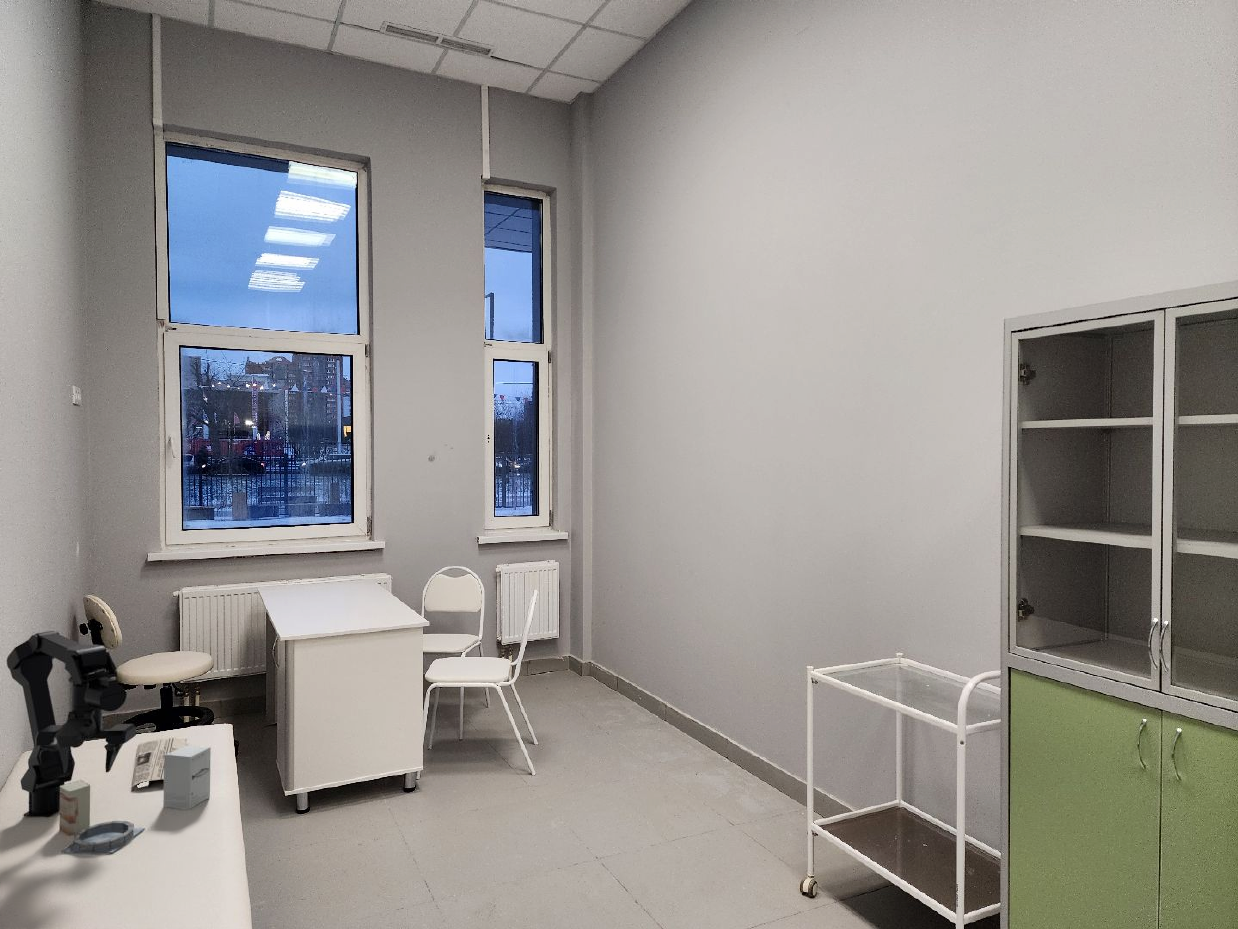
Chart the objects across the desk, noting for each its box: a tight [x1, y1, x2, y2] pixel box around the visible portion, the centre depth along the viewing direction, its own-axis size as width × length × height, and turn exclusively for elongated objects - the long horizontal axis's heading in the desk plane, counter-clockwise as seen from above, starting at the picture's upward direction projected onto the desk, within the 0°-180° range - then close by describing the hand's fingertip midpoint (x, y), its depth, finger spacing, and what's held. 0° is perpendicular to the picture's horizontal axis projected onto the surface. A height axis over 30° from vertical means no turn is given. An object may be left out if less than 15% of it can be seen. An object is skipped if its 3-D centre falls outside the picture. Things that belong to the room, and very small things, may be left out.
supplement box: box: [162, 744, 212, 810], centre depth 192 cm, size 7×7×13 cm
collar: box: [60, 820, 146, 855], centre depth 172 cm, size 11×11×2 cm
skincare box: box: [58, 779, 91, 837], centre depth 178 cm, size 5×4×10 cm
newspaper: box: [131, 736, 188, 791], centre depth 216 cm, size 35×12×4 cm, turn 29°
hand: (86, 772), depth 179 cm, fingers open, 9 cm apart
